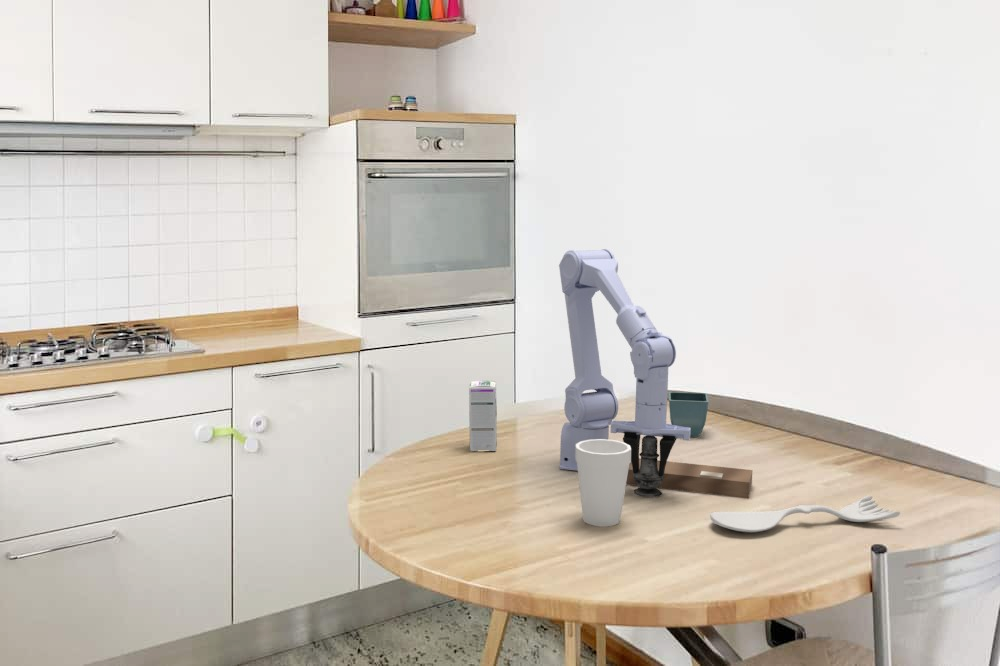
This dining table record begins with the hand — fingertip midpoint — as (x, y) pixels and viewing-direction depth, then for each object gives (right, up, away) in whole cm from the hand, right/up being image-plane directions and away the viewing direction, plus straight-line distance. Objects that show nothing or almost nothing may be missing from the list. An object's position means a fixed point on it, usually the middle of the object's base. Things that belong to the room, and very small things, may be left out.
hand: (648, 473), depth 174 cm
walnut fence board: (+8, -3, +6) cm, 10 cm away
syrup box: (-31, +1, +29) cm, 43 cm away
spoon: (+23, -7, -15) cm, 29 cm away
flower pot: (+16, +2, +42) cm, 45 cm away
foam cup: (-10, -6, -14) cm, 18 cm away
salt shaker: (0, -4, +1) cm, 4 cm away
